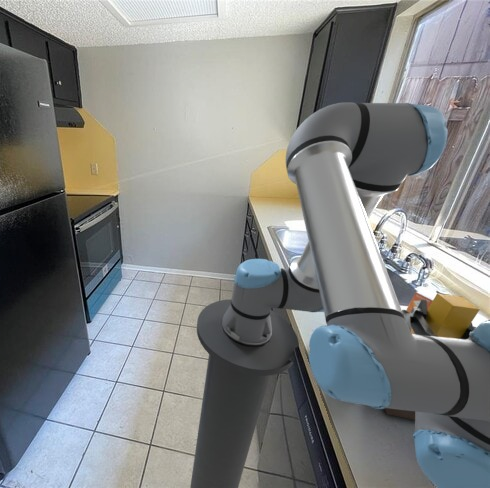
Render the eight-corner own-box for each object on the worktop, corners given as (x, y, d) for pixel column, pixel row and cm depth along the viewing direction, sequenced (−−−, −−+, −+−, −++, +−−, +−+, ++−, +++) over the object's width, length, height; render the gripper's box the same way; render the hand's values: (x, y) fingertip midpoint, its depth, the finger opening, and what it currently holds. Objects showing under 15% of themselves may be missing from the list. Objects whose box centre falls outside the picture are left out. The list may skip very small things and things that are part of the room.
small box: (397, 325, 83) (414, 291, 77) (411, 321, 85) (428, 288, 79) (427, 343, 76) (448, 307, 70) (441, 339, 78) (463, 304, 72)
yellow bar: (410, 340, 54) (436, 292, 49) (432, 343, 53) (461, 296, 48) (423, 355, 50) (453, 305, 46) (447, 359, 50) (480, 309, 45)
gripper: (365, 367, 44) (378, 306, 60) (539, 451, 33) (499, 349, 49) (381, 333, 41) (391, 278, 57) (579, 414, 30) (523, 318, 46)
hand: (441, 311), depth 53 cm, fingers closed on yellow bar, 5 cm apart
